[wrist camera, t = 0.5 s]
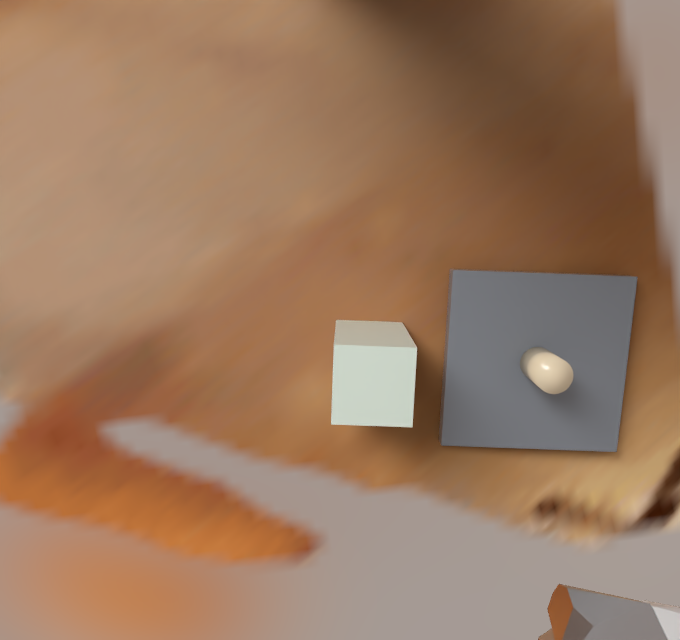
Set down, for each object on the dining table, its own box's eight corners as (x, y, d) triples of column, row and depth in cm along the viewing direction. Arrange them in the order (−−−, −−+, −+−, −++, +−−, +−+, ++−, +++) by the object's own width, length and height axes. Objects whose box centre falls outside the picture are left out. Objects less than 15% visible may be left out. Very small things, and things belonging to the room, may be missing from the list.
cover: (336, 319, 53) (334, 344, 42) (402, 322, 53) (417, 347, 42) (333, 383, 54) (331, 424, 43) (398, 386, 54) (412, 427, 43)
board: (449, 268, 52) (463, 274, 46) (629, 275, 52) (665, 281, 46) (438, 439, 55) (450, 465, 49) (609, 445, 55) (641, 472, 49)
